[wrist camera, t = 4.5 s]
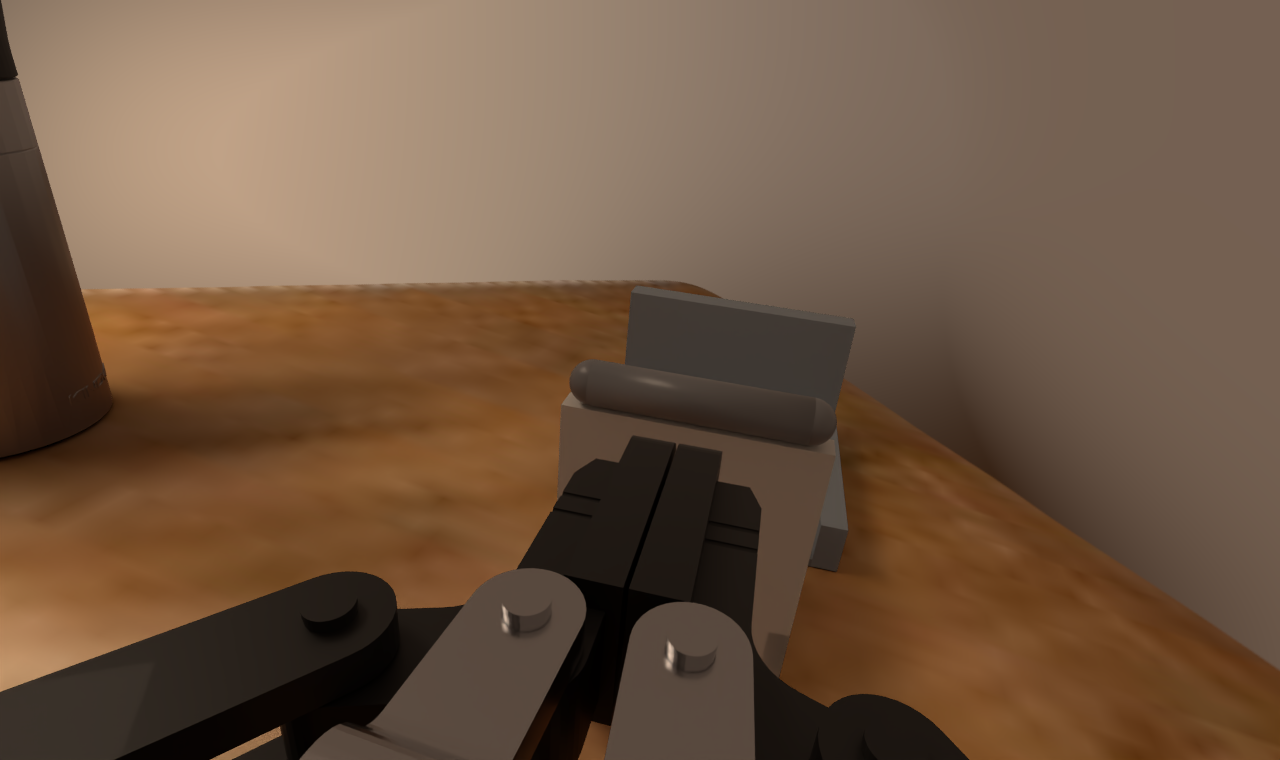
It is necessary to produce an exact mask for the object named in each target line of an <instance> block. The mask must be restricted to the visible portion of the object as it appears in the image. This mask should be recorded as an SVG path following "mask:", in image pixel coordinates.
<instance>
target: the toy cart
mask: <svg viewBox="0 0 1280 760" xmlns="http://www.w3.org/2000/svg"><path fill="white" fill-rule="evenodd" d="M570 389H571V392H570V394H569V395H568V396H567V398H566V399H565V400H564V402H563V403H562V404H561V422H560V446H559V471H558V495H557V501H558V499H559V497H560V495H561V496H562V494H563V490H564V489H565V487H566V485H567V484H568V482H569V480H570V479H571V477H572V475H573V474H574V472H576V471H577V470H579V469H580V468H582V467H583V466H585V465H587V464H588V463H590V462H591V461H593V460H594V459H596V458H597V459H602V460H607V461H613V462H618V463H619V461H620V459H621V457H622V455H623V453H624V451H625V449H626V447H627V445H628V443H629V441H630V439H631V437H632V436H633V435H635V436H640V437H646V438H652V439H657V440H663V441H668V442H674V443H676V450H677V447H678V445H679V443H680V444H685V445H691V446H696V447H702V448H708V449H713V450H719V451H723V452H722V460H721V467H720V473H719V480H718V481H719V482H724V483H730V484H735V485H740V486H745V487H750V488H751V490H752V492H753V494H754V496H755V497H756V499H757V501H758V503H759V505H760V507H761V508H762V510H761V522H760V532H759V545H758V553H757V554H758V557H757V568H756V580H755V591H754V603H753V615H752V638H753V643H754V645H755V648H756V650H757V652H758V654H759V656H760V657H761V659H762V661H763V662H764V663H765V664H766V666H767V667H768V668H769V669H770V670H771V671H772V672H773V673H774V674H775V675H776V676H777V677H778V678H779V676H780V672H781V668H782V664H783V660H784V656H785V652H786V648H787V645H788V641H789V637H790V633H791V629H792V625H793V621H794V617H795V613H796V609H797V606H798V602H799V598H800V594H801V590H802V586H803V582H804V578H805V574H806V570H807V566H808V563H809V559H810V555H811V551H812V547H813V543H814V539H815V535H816V531H817V527H818V524H819V520H820V516H821V512H822V508H823V504H824V500H825V496H826V492H827V488H828V485H829V481H830V477H831V473H832V469H833V465H834V461H835V457H836V453H835V443H834V440H831V439H830V438H831V437H832V435H833V434H834V432H835V430H836V425H837V420H836V415H835V412H834V410H833V409H832V407H831V406H830V405H829V404H828V403H827V402H825V401H823V400H821V399H819V398H815V397H809V396H803V395H797V394H791V393H786V392H780V391H774V390H768V389H763V388H757V387H751V386H745V385H740V384H734V383H728V382H722V381H716V380H711V379H705V378H699V377H693V376H688V375H682V374H676V373H670V372H664V371H659V370H653V369H647V368H641V367H636V366H630V365H624V364H618V363H613V362H607V361H601V360H593V359H591V360H586V361H583V362H581V363H580V364H578V365H577V366H576V367H575V368H574V370H573V371H572V373H571V376H570Z"/></svg>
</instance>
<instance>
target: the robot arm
mask: <svg viewBox="0 0 1280 760" xmlns="http://www.w3.org/2000/svg"><path fill="white" fill-rule="evenodd" d="M17 75H18V73H17V70H16V67H15V63H14V60H13V57H12V54H11V50H10V46H9V42H8V37H7V31H6V26H5V21H4V15H3V9H2V4H1V0H0V457H5V456H9V455H14V454H19V453H22V452H26V451H29V450H33V449H36V448H40V447H43V446H46V445H49V444H52V443H54V442H57V441H60V440H62V439H65V438H67V437H70V436H72V435H74V434H76V433H78V432H80V431H82V430H84V429H86V428H88V427H89V426H91V425H92V424H94V423H95V422H97V421H99V420H100V419H101V418H102V417H103V416H104V415H105V414H106V413H107V412H108V411H109V409H110V407H111V406H112V395H111V391H110V388H109V384H108V381H107V378H106V376H107V375H106V371H105V367H104V364H103V363H102V360H101V357H100V354H99V350H98V347H97V343H96V340H95V336H94V332H93V329H92V325H91V322H90V319H89V315H88V312H87V308H86V305H85V302H84V298H83V295H82V292H81V288H80V285H79V281H78V278H77V275H76V272H75V268H74V265H73V261H72V258H71V255H70V251H69V248H68V244H67V241H66V237H65V234H64V231H63V227H62V224H61V221H60V217H59V214H58V210H57V207H56V204H55V200H54V197H53V194H52V190H51V187H50V184H49V180H48V177H47V173H46V170H45V167H44V163H43V160H42V156H41V153H40V150H39V146H38V143H37V140H36V136H35V133H34V130H33V126H32V123H31V120H30V116H29V112H28V109H27V106H26V103H25V99H24V95H23V92H22V89H21V85H20V82H19V79H18V78H16V76H17ZM722 452H723V451H719V450H713V449H708V448H702V447H696V446H691V445H685V444H680V443H679V445H678V447H677V450H676V443H674V442H668V441H663V440H657V439H652V438H646V437H640V436H635V435H633V436H632V437H631V439H630V441H629V443H628V445H627V447H626V449H625V451H624V453H623V455H622V457H621V459H620V461H619V463H618V462H613V461H607V460H602V459H597V458H596V459H594V460H593V461H591V462H590V463H588V464H587V465H585V466H583V467H582V468H580V469H579V470H577V471H576V472H574V474H573V475H572V477H571V479H570V480H569V482H568V484H567V485H566V487H565V489H564V490H563V494H562V496H561V495H560V497H559V499H558V501H557V502H556V504H555V506H554V507H553V512H550V514H549V516H548V517H547V519H546V521H545V522H544V524H543V526H542V527H541V529H540V531H539V532H538V534H537V536H536V537H535V539H534V541H533V542H532V544H531V546H530V547H529V549H528V551H527V553H526V554H525V556H524V558H523V559H522V561H521V563H520V564H519V566H518V568H517V569H516V570H512V571H508V572H504V573H502V574H499V575H497V576H495V577H493V578H491V579H489V580H488V581H486V582H485V583H484V584H482V585H481V586H480V587H479V588H478V589H477V590H476V591H475V592H474V593H473V595H472V596H471V597H470V599H469V600H468V601H467V602H466V604H465V605H460V606H455V607H444V608H415V609H397V602H396V596H395V593H394V591H393V589H392V588H391V587H390V585H389V584H388V583H387V582H385V581H384V580H382V579H381V578H379V577H377V576H374V575H371V574H367V573H362V572H337V573H331V574H326V575H322V576H319V577H316V578H312V579H310V580H307V581H304V582H301V583H299V584H296V585H293V586H290V587H288V588H285V589H282V590H279V591H277V592H274V593H271V594H268V595H266V596H263V597H260V598H257V599H255V600H252V601H249V602H246V603H244V604H241V605H238V606H235V607H233V608H230V609H227V610H224V611H222V612H219V613H216V614H213V615H211V616H208V617H205V618H202V619H200V620H197V621H194V622H191V623H189V624H186V625H183V626H180V627H178V628H175V629H172V630H169V631H167V632H164V633H161V634H158V635H156V636H153V637H150V638H147V639H145V640H142V641H139V642H136V643H134V644H131V645H128V646H125V647H123V648H120V649H117V650H114V651H112V652H109V653H106V654H103V655H101V656H98V657H95V658H92V659H90V660H87V661H84V662H81V663H79V664H76V665H73V666H70V667H68V668H65V669H62V670H60V671H57V672H54V673H51V674H49V675H46V676H43V677H40V678H38V679H35V680H32V681H29V682H27V683H24V684H21V685H18V686H16V687H13V688H10V689H7V690H5V691H2V692H0V760H210V759H212V758H214V757H216V756H218V755H220V754H223V753H225V752H227V751H229V750H231V749H233V748H235V747H237V746H239V745H241V744H244V743H246V742H248V741H250V740H252V739H254V738H256V737H258V736H260V735H262V734H264V733H267V732H269V731H271V730H273V729H275V728H277V727H279V726H280V729H281V734H282V736H279V737H277V738H275V739H273V740H271V741H269V742H267V743H265V744H263V745H261V746H259V747H257V748H255V749H253V750H251V751H249V752H247V753H245V754H243V755H240V756H238V757H236V758H234V759H232V760H578V758H579V755H580V753H581V751H582V748H583V745H584V742H585V738H586V735H587V732H588V729H589V726H590V723H591V721H594V722H597V723H601V724H605V725H609V726H611V730H610V735H609V740H608V745H607V749H606V754H605V759H604V760H969V759H968V758H967V757H966V756H965V755H964V754H963V753H962V752H961V751H960V750H959V748H958V747H957V746H956V745H955V744H954V743H953V742H952V741H951V740H950V739H949V738H948V737H947V736H946V735H945V734H944V733H943V732H942V731H941V730H940V729H939V728H938V727H937V726H936V725H935V724H934V723H933V722H932V721H930V720H929V719H928V718H926V717H925V716H924V715H922V714H921V713H919V712H918V711H916V710H914V709H913V708H911V707H909V706H907V705H905V704H903V703H901V702H899V701H896V700H893V699H890V698H887V697H883V696H878V695H871V694H858V695H851V696H847V697H844V698H841V699H840V700H838V701H836V702H834V703H833V704H832V705H831V706H830V707H829V708H828V707H826V706H824V705H822V704H820V703H818V702H817V701H815V700H813V699H811V698H809V697H807V696H805V695H803V694H802V693H800V692H798V691H796V690H795V689H793V688H791V687H790V686H788V685H787V684H785V683H784V682H783V681H782V680H780V679H779V678H778V677H777V676H776V675H775V674H774V673H773V672H772V671H771V670H770V669H769V668H768V667H767V666H766V664H765V663H764V662H763V661H762V659H761V657H760V656H759V654H758V652H757V650H756V648H755V645H754V643H753V638H752V615H753V603H754V591H755V580H756V568H757V557H758V554H757V553H758V545H759V532H760V522H761V510H762V508H761V507H760V505H759V503H758V501H757V499H756V497H755V496H754V494H753V492H752V490H751V488H750V487H745V486H740V485H735V484H730V483H724V482H719V481H718V480H719V473H720V467H721V460H722ZM612 720H613V721H612ZM611 723H612V725H611Z"/></svg>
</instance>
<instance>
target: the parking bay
mask: <svg viewBox="0 0 1280 760" xmlns="http://www.w3.org/2000/svg"><path fill="white" fill-rule="evenodd" d="M855 328H856V325H855V322H854V319H852V318H846V317H839V316H832V315H826V314H819V313H813V312H806V311H800V310H792V309H787V308H780V307H774V306H767V305H760V304H753V303H747V302H741V301H734V300H728V299H721V298H715V297H708V296H702V295H695V294H688V293H682V292H675V291H669V290H662V289H656V288H649V287H643V286H636V287H635V288H634V290H633V291H632V292H631V301H630V313H629V324H628V336H627V347H626V359H625V365H630V366H636V367H641V368H647V369H653V370H659V371H664V372H670V373H676V374H682V375H688V376H693V377H699V378H705V379H711V380H716V381H722V382H728V383H734V384H740V385H745V386H751V387H757V388H763V389H768V390H774V391H780V392H786V393H791V394H797V395H803V396H809V397H815V398H819V399H821V400H823V401H825V402H827V403H828V404H829V405H830V406H831V407H832V409H833V410H834V412H835V409H836V405H837V401H838V397H839V393H840V389H841V385H842V381H843V377H844V373H845V369H846V365H847V361H848V357H849V353H850V349H851V345H852V341H853V337H854V333H855ZM830 439H831V440H834V443H835V453H836V457H835V461H834V465H833V469H832V473H831V477H830V481H829V485H828V488H827V492H826V496H825V500H824V504H823V508H822V512H821V516H820V520H819V524H818V527H817V531H816V535H815V539H814V543H813V547H812V551H811V555H810V559H809V563H808V566H812V567H817V568H821V569H826V570H831V571H835V572H837V569H838V565H839V562H840V558H841V555H842V551H843V547H844V544H845V540H846V537H847V533H848V524H847V515H846V506H845V497H844V488H843V480H842V471H841V462H840V453H839V444H838V435H837V426H836V430H835V432H834V434H833V435H832V437H831V438H830Z"/></svg>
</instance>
